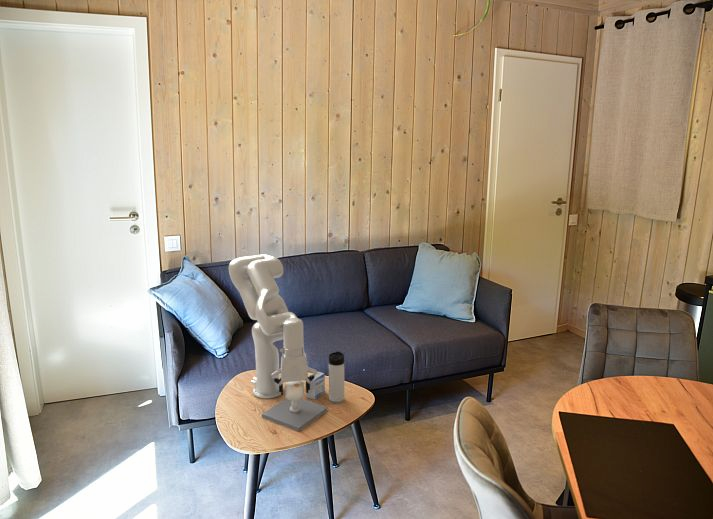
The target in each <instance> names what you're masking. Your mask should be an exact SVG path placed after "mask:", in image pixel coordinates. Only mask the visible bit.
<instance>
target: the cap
mask: <svg viewBox="0 0 713 519" xmlns="http://www.w3.org/2000/svg"><path fill="white" fill-rule="evenodd" d="M304 386H305V383H304V382H303V381H291V382H285V385H284V387H285V388H284V393H285V399H288V400H292V401H296V400H300V399H304V397H305V391H304V390H305V387H304Z"/></svg>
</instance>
